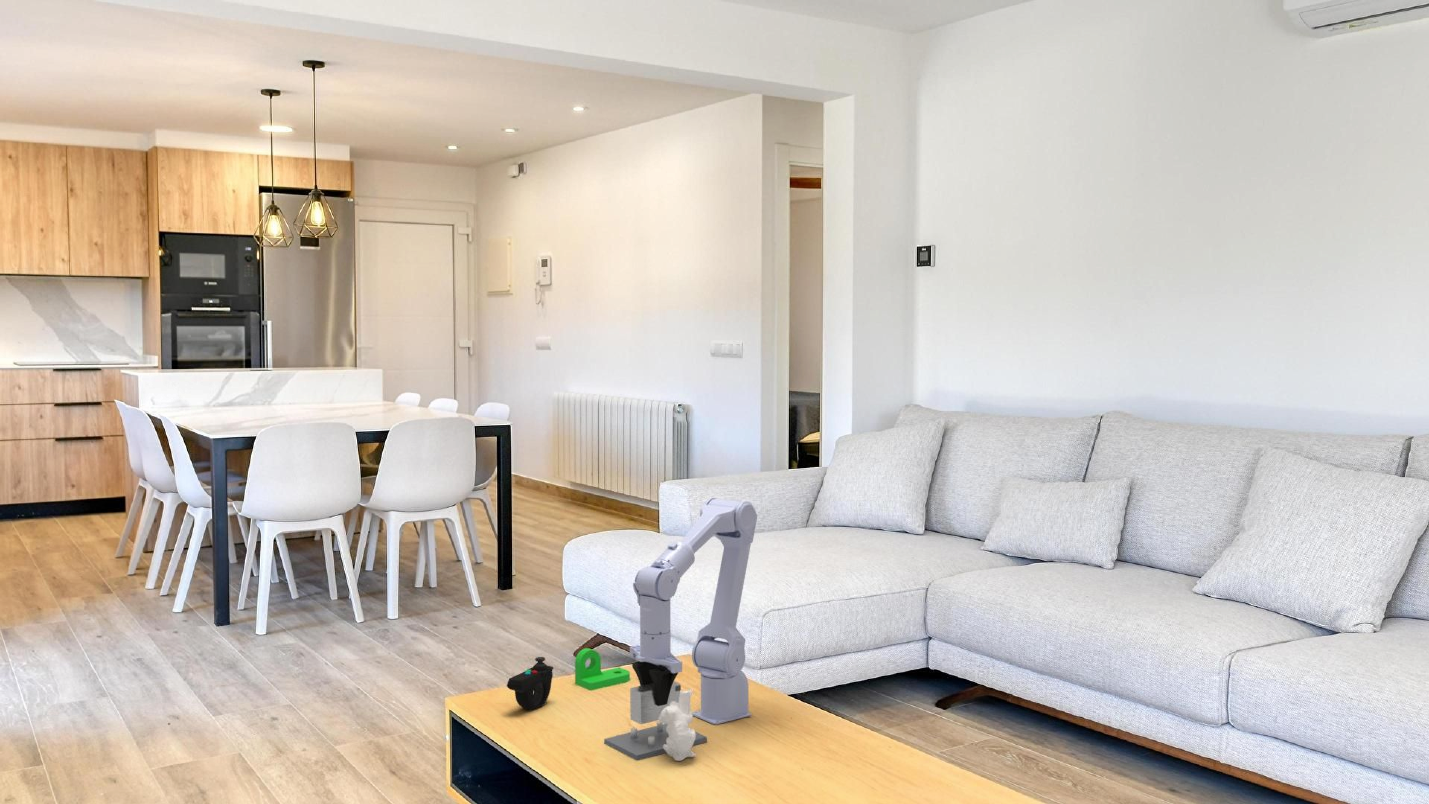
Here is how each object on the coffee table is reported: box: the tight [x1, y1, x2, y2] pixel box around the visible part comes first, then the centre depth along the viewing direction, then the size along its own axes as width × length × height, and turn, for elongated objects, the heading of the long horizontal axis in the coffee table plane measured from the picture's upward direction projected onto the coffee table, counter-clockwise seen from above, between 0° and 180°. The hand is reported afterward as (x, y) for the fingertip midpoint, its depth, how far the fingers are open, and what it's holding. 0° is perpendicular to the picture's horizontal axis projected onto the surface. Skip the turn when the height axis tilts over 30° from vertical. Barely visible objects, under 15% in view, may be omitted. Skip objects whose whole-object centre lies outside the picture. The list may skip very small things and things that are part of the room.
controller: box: [506, 656, 554, 711], centre depth 240 cm, size 4×12×10 cm, turn 153°
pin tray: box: [603, 720, 708, 761], centre depth 220 cm, size 16×11×3 cm
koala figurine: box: [658, 688, 696, 762], centre depth 213 cm, size 8×7×12 cm
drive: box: [629, 680, 682, 725], centre depth 220 cm, size 9×4×6 cm, turn 128°
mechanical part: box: [574, 647, 631, 691], centre depth 258 cm, size 12×6×8 cm, turn 131°
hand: (655, 702), depth 220 cm, fingers closed on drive, 3 cm apart
